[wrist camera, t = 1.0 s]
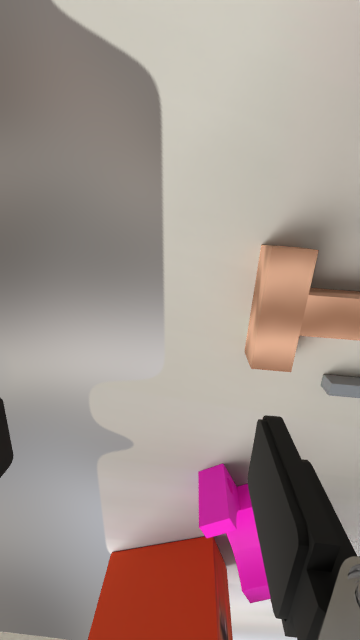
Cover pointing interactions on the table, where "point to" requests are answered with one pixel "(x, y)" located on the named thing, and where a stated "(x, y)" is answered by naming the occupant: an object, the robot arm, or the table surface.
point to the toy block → (233, 527)
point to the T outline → (341, 385)
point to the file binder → (165, 594)
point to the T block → (294, 308)
